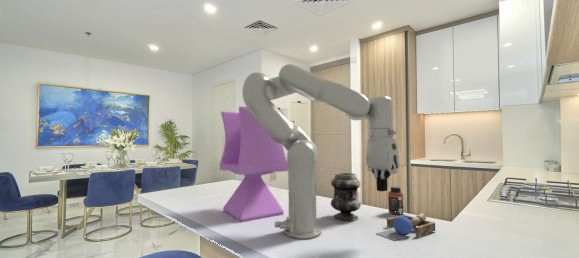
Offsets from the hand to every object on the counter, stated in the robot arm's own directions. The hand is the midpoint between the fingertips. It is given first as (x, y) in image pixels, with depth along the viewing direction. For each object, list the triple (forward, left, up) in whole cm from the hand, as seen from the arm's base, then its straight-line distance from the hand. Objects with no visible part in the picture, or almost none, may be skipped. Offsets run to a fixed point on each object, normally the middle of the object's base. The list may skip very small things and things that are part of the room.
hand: (382, 190), depth 84 cm
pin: (+11, +4, -14) cm, 18 cm away
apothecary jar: (-2, +24, -15) cm, 28 cm away
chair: (-39, +40, -15) cm, 57 cm away
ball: (+8, +1, -12) cm, 15 cm away
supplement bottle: (+22, +25, -15) cm, 36 cm away
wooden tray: (+14, +5, -15) cm, 21 cm away
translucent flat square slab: (+5, +2, -15) cm, 16 cm away
